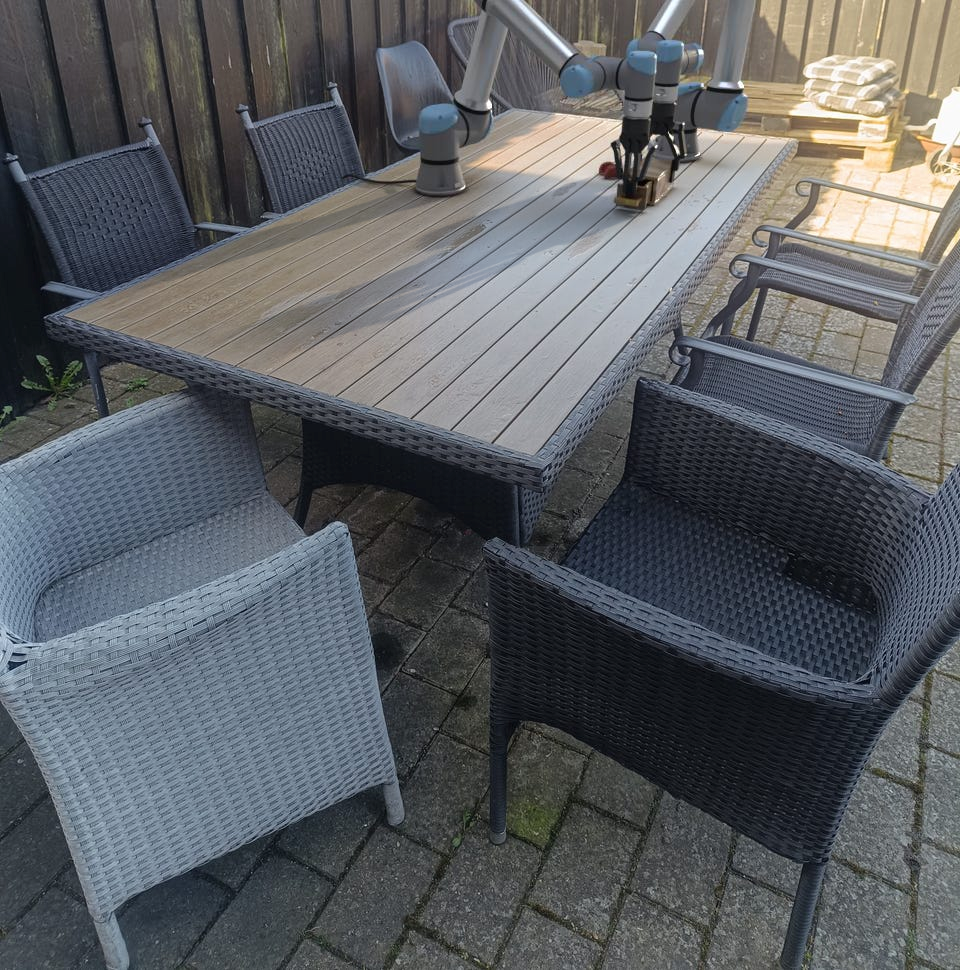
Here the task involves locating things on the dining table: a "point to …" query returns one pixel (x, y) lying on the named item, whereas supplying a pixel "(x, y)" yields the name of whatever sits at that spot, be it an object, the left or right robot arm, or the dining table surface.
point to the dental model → (608, 170)
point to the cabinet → (657, 178)
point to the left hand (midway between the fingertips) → (628, 204)
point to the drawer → (636, 195)
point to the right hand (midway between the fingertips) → (654, 179)
